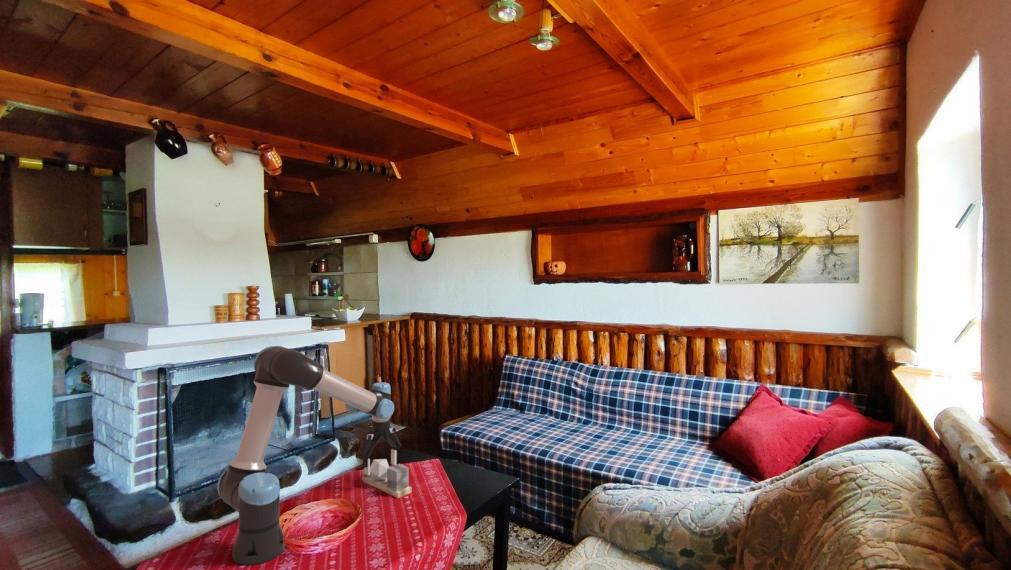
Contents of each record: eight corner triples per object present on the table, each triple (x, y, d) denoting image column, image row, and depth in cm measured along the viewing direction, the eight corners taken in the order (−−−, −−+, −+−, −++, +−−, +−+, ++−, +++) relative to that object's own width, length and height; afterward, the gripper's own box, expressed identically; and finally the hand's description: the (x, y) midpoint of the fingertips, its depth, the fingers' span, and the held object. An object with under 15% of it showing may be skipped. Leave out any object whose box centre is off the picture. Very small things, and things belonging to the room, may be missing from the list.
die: (381, 487, 203) (394, 464, 206) (362, 475, 203) (376, 453, 207) (382, 486, 211) (395, 464, 214) (364, 475, 211) (378, 453, 214)
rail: (398, 498, 196) (398, 473, 196) (362, 481, 212) (362, 458, 211) (411, 492, 202) (411, 468, 202) (375, 476, 217) (376, 453, 217)
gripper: (361, 428, 196) (360, 481, 197) (410, 415, 216) (409, 463, 216) (350, 424, 201) (349, 476, 202) (399, 411, 220) (398, 458, 221)
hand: (380, 469), depth 209 cm, fingers open, 13 cm apart
